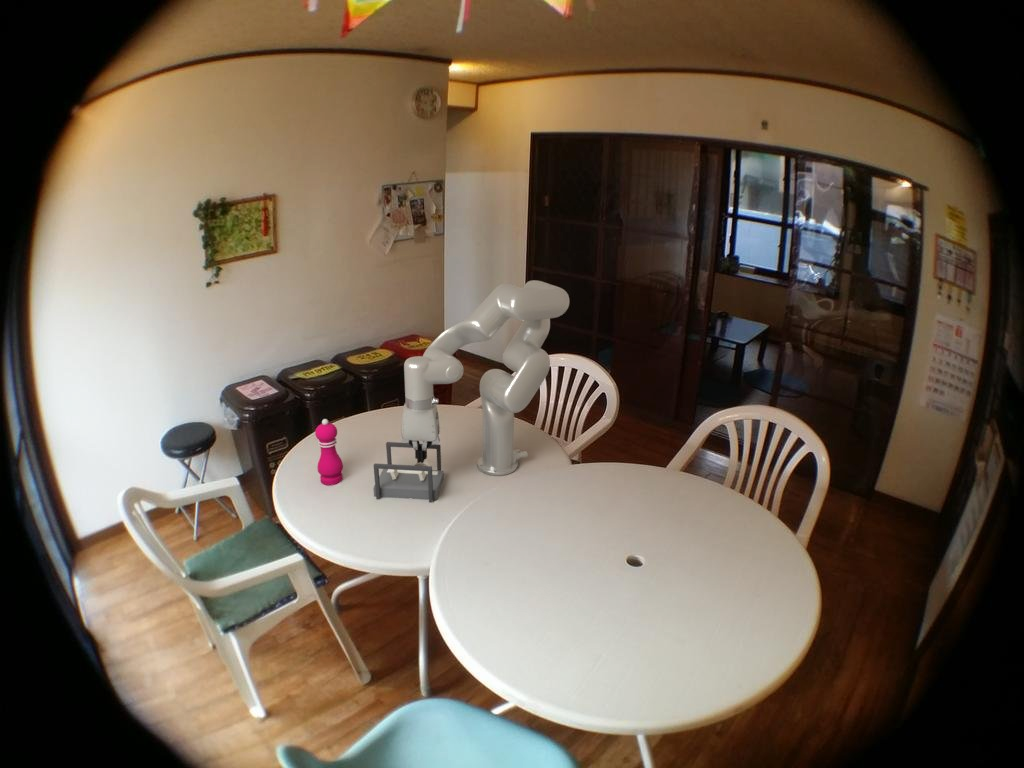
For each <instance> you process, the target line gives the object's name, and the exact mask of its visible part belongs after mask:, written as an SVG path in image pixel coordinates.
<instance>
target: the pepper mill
mask: <svg viewBox="0 0 1024 768" xmlns="http://www.w3.org/2000/svg"><path fill="white" fill-rule="evenodd" d="M314 435H315V438H316V439H317V440H318V441H317V442H318V443H317V444H318V445H317V446H319V448H320V457H319V459H318V462H317V473H319V475H320V476H319V479H320V483H321V484H322V485H325V486H334V485H338V484H340V483H341V482H342V481H343V480H344V479H343V477H344V476H343V472H342V471H343V470H344V469H343V468H344V463H343V461H342V459H341V457H340V455H339V454H338V451H337V447H336V445H337V438H336V437H337V435H338V429H337V427H336V425H334V424H333V423H331V422H329V420H328V419H327V418H323V419H322V421H321V423H320V424H319V425H318V426H317V427H316V428H315V433H314Z"/></svg>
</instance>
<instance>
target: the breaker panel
mask: <svg viewBox="0 0 1024 768" xmlns="http://www.w3.org/2000/svg"><path fill="white" fill-rule="evenodd" d="M391 470H392V469H382V471H381V473H379V481H380V493H381V498H394V499H409V498H412V500H428V501H429V488H428V471H425V474H426V476H425V479H424V480H423V481H420V478H419V475H418V473H419V471H412V470H397V471H398V476H397V478H396V479H392V476H391V473H390V472H391ZM432 479H433V501H437V500H438V498H439V494H440V492H441V490H442V487H443V484H444V481H445V472H444V470H442V469H441V470H437V469H435V470H434V469H432ZM372 489H373V497H375V498H376V489H375V484H374V486H373V488H372Z"/></svg>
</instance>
